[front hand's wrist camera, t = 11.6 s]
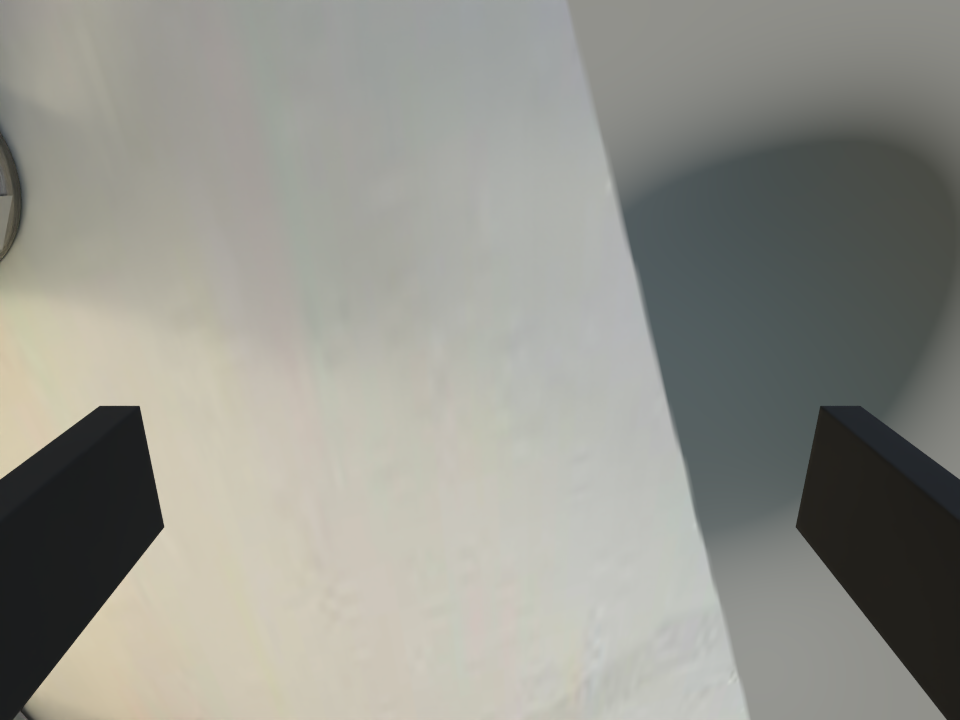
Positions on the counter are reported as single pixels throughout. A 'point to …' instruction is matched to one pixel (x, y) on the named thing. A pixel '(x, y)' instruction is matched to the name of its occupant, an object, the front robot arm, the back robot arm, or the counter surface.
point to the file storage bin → (20, 717)
